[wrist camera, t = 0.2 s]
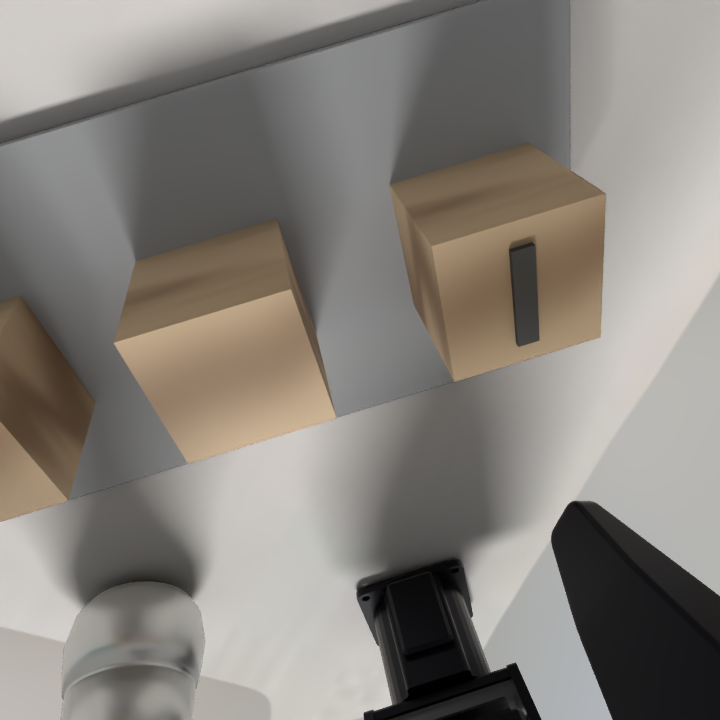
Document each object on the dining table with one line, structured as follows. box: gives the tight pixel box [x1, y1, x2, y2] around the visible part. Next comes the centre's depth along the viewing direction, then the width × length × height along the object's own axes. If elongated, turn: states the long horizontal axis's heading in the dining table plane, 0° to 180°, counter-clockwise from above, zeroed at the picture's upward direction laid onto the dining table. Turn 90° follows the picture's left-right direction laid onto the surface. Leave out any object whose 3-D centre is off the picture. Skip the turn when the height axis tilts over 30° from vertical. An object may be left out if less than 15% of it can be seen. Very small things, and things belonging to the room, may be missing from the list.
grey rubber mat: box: [0, 0, 570, 500], centre depth 21 cm, size 14×26×1 cm, turn 103°
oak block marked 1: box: [389, 143, 606, 382], centre depth 19 cm, size 5×5×5 cm
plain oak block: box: [114, 219, 336, 464], centre depth 19 cm, size 5×5×5 cm
